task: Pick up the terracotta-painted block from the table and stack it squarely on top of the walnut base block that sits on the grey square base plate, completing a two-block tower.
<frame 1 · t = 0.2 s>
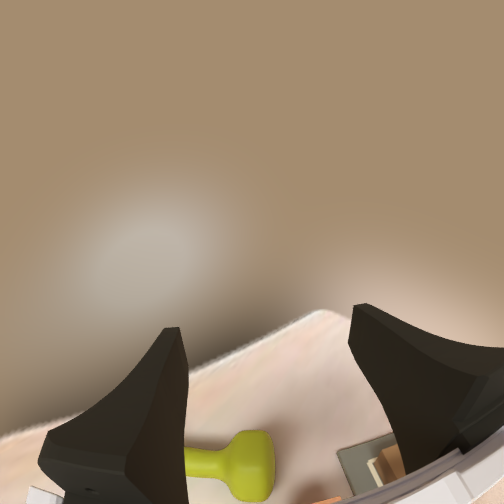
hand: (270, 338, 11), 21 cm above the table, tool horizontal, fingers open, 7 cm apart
grey square base plate: (407, 476, 19), on the table
base block: (409, 473, 18), point 1 cm above the table, touching grey square base plate
dumbbell: (192, 477, 22), on the table
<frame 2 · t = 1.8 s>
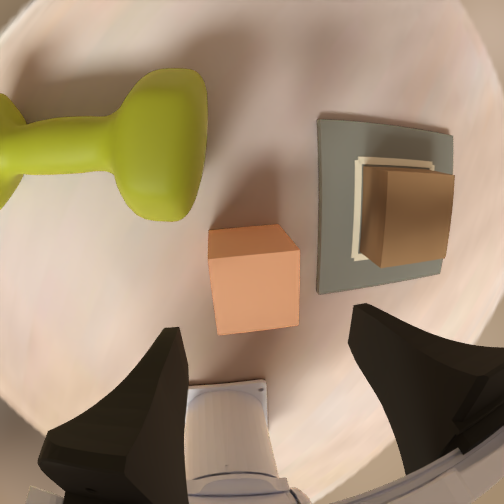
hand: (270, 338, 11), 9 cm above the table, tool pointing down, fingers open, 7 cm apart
grey square base plate: (392, 207, 19), on the table
base block: (396, 208, 19), point 1 cm above the table, touching grey square base plate
dumbbell: (85, 144, 15), on the table
top block: (245, 259, 19), on the table
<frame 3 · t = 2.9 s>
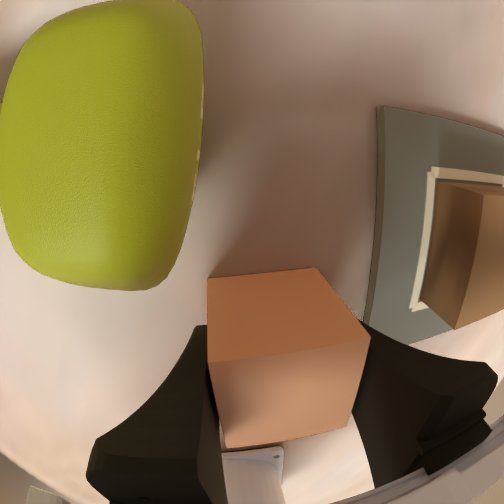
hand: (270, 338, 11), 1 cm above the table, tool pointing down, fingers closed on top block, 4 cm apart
grey square base plate: (459, 235, 13), on the table
base block: (466, 239, 12), point 1 cm above the table, touching grey square base plate
dumbbell: (23, 148, 9), on the table
top block: (264, 318, 13), on the table, touching gripper
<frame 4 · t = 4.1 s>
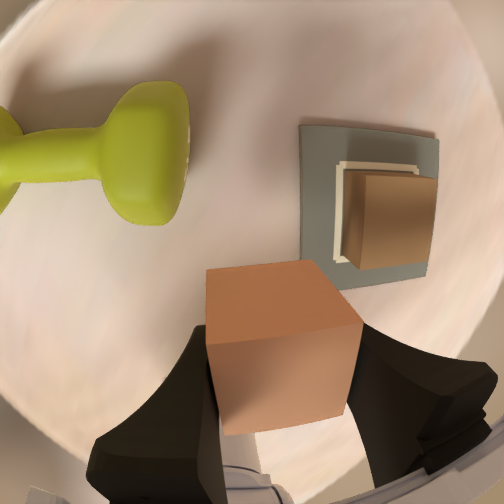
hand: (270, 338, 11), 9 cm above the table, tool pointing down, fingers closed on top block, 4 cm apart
grey square base plate: (375, 210, 20), on the table
base block: (379, 212, 20), point 1 cm above the table, touching grey square base plate
dumbbell: (78, 152, 16), on the table
top block: (262, 310, 13), point 8 cm above the table, touching gripper
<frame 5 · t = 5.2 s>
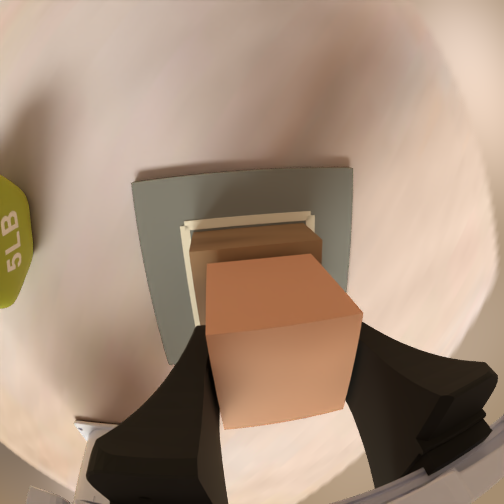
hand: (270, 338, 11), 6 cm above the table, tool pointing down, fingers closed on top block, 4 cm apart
grey square base plate: (250, 273, 17), on the table
base block: (252, 278, 17), point 1 cm above the table, touching grey square base plate
top block: (262, 304, 13), point 4 cm above the table, touching gripper
when the fingers open (6 cm above the table, at t = 5.6 s): top block stays where it is, resting on base block.
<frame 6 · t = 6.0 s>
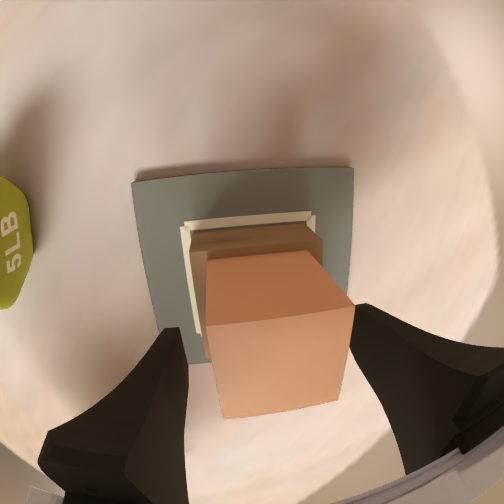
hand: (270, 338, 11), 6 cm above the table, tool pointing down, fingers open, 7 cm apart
grey square base plate: (250, 274, 17), on the table
base block: (252, 278, 16), point 1 cm above the table, touching grey square base plate, top block
top block: (260, 299, 14), point 4 cm above the table, touching base block
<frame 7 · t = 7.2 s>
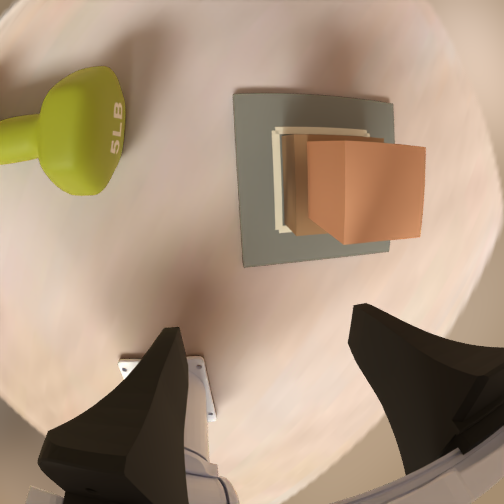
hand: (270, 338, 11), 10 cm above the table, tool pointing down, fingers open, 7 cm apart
grey square base plate: (321, 178, 20), on the table
base block: (324, 178, 19), point 1 cm above the table, touching grey square base plate, top block
dumbbell: (38, 139, 16), on the table
top block: (342, 179, 16), point 4 cm above the table, touching base block
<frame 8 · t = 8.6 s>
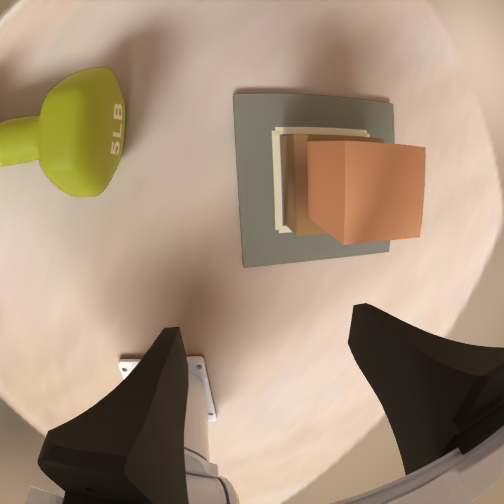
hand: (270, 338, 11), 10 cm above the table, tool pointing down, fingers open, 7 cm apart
grey square base plate: (321, 178, 20), on the table
base block: (324, 179, 19), point 1 cm above the table, touching grey square base plate, top block
dumbbell: (38, 140, 16), on the table
top block: (342, 179, 16), point 4 cm above the table, touching base block
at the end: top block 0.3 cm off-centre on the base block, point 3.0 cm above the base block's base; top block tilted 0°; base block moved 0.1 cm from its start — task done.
